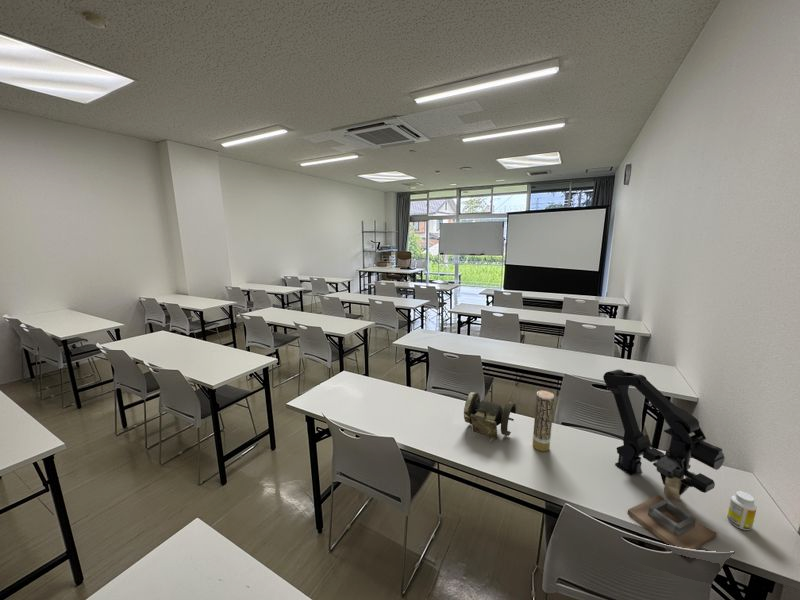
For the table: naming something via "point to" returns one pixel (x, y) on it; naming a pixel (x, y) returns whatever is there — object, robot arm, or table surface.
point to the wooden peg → (672, 488)
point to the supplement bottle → (742, 510)
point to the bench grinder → (487, 416)
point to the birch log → (543, 420)
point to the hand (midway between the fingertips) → (672, 489)
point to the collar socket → (671, 523)
